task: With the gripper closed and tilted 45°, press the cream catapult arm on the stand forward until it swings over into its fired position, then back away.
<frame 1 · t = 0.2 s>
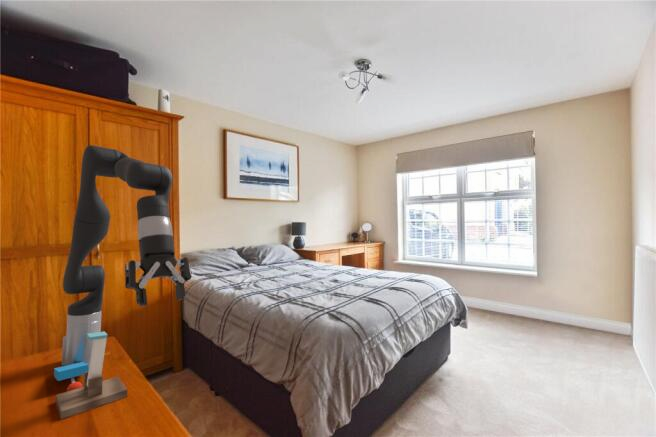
hand: (162, 302, 71), 31 cm above the chest of drawers, tool tilted 20°, fingers open, 8 cm apart
catapult stand: (92, 399, 82), on the chest of drawers
lever: (71, 384, 90), on the chest of drawers
catapult arm: (93, 360, 82), point 11 cm above the chest of drawers, hinge at -5.0°
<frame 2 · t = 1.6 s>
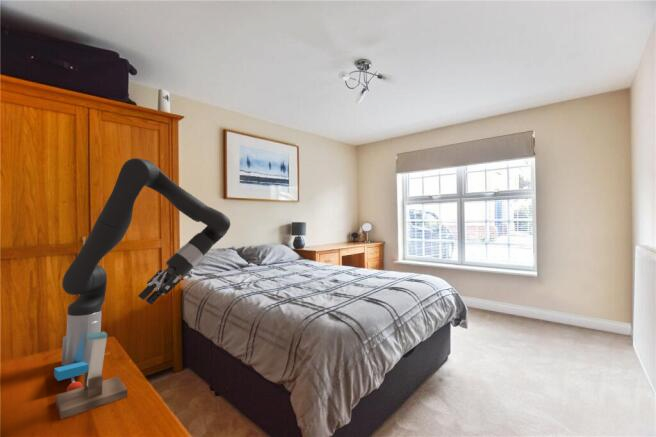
hand: (144, 300, 91), 25 cm above the chest of drawers, tool tilted 45°, fingers open, 6 cm apart
nothing on the chest of drawers moved.
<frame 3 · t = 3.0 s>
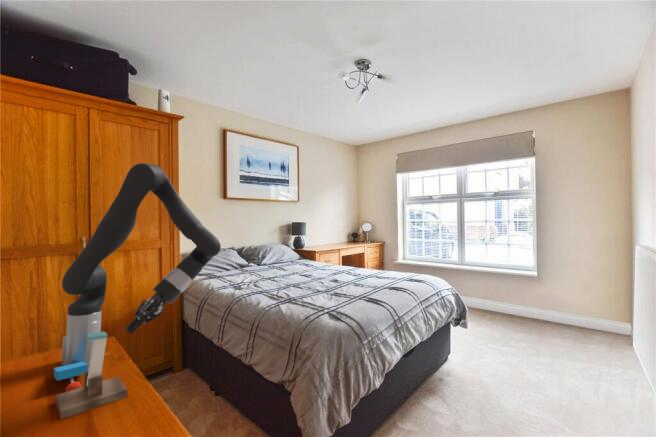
hand: (128, 331, 88), 17 cm above the chest of drawers, tool tilted 45°, fingers closed
nothing on the chest of drawers moved.
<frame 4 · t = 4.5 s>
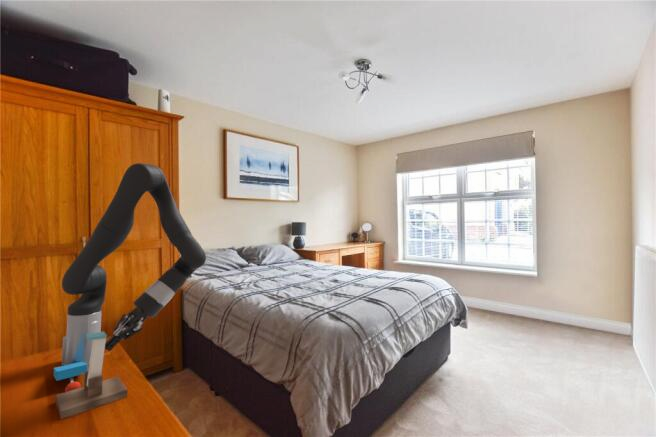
hand: (105, 348, 84), 13 cm above the chest of drawers, tool tilted 45°, fingers closed
catapult arm: (92, 361, 82), point 11 cm above the chest of drawers, hinge at -4.2°, touching gripper
everything else where it was.
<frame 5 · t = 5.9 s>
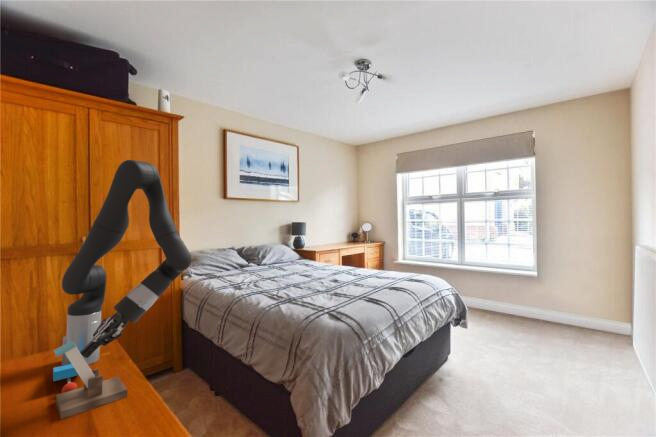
hand: (83, 355, 81), 13 cm above the chest of drawers, tool tilted 45°, fingers closed
catapult arm: (77, 368, 80), point 10 cm above the chest of drawers, hinge at 25.0°, touching gripper
everything else where it was.
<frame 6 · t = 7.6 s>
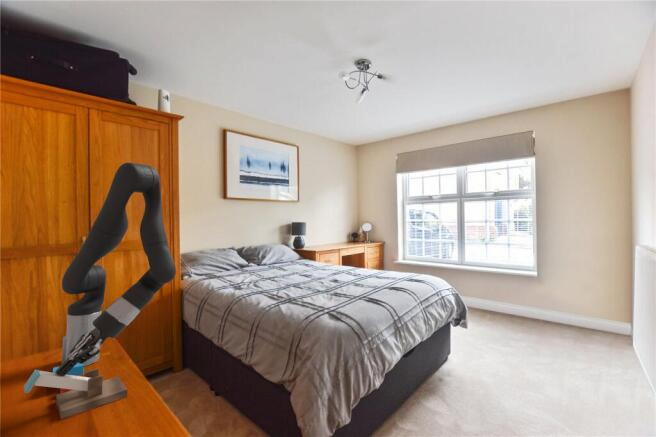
hand: (59, 374, 77), 9 cm above the chest of drawers, tool tilted 45°, fingers closed
catapult arm: (63, 384, 78), point 6 cm above the chest of drawers, hinge at 62.3°, touching gripper
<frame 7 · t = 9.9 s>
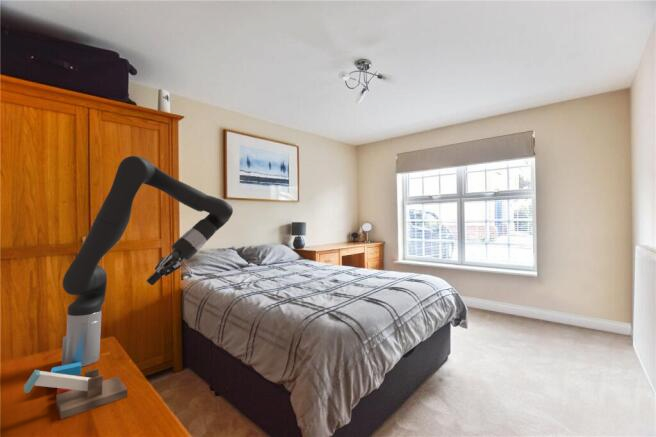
hand: (149, 283, 95), 30 cm above the chest of drawers, tool tilted 45°, fingers closed
catapult arm: (63, 384, 78), point 6 cm above the chest of drawers, hinge at 62.4°
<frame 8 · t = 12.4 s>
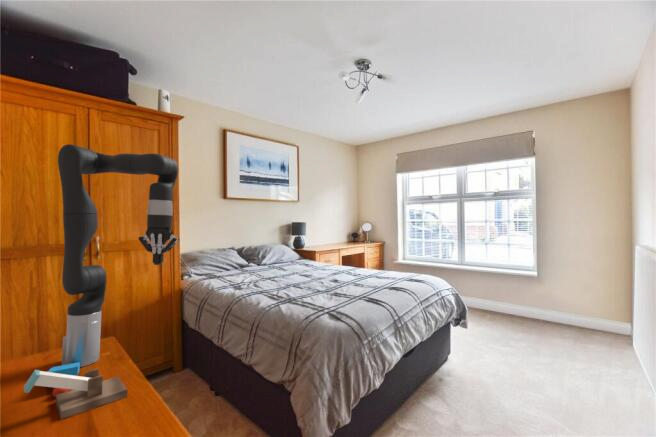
hand: (157, 264, 101), 35 cm above the chest of drawers, tool pointing down, fingers closed
at the end: catapult arm at +62° (first picture: -5°); lever moved 2.3 cm from its start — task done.
